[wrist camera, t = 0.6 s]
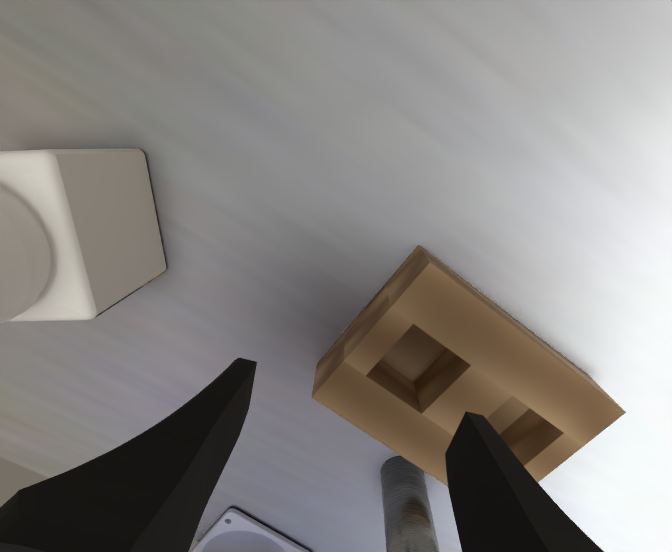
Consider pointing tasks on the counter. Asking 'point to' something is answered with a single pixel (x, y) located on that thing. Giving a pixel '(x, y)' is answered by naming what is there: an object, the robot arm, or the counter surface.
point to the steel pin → (406, 508)
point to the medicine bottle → (74, 232)
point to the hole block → (456, 374)
